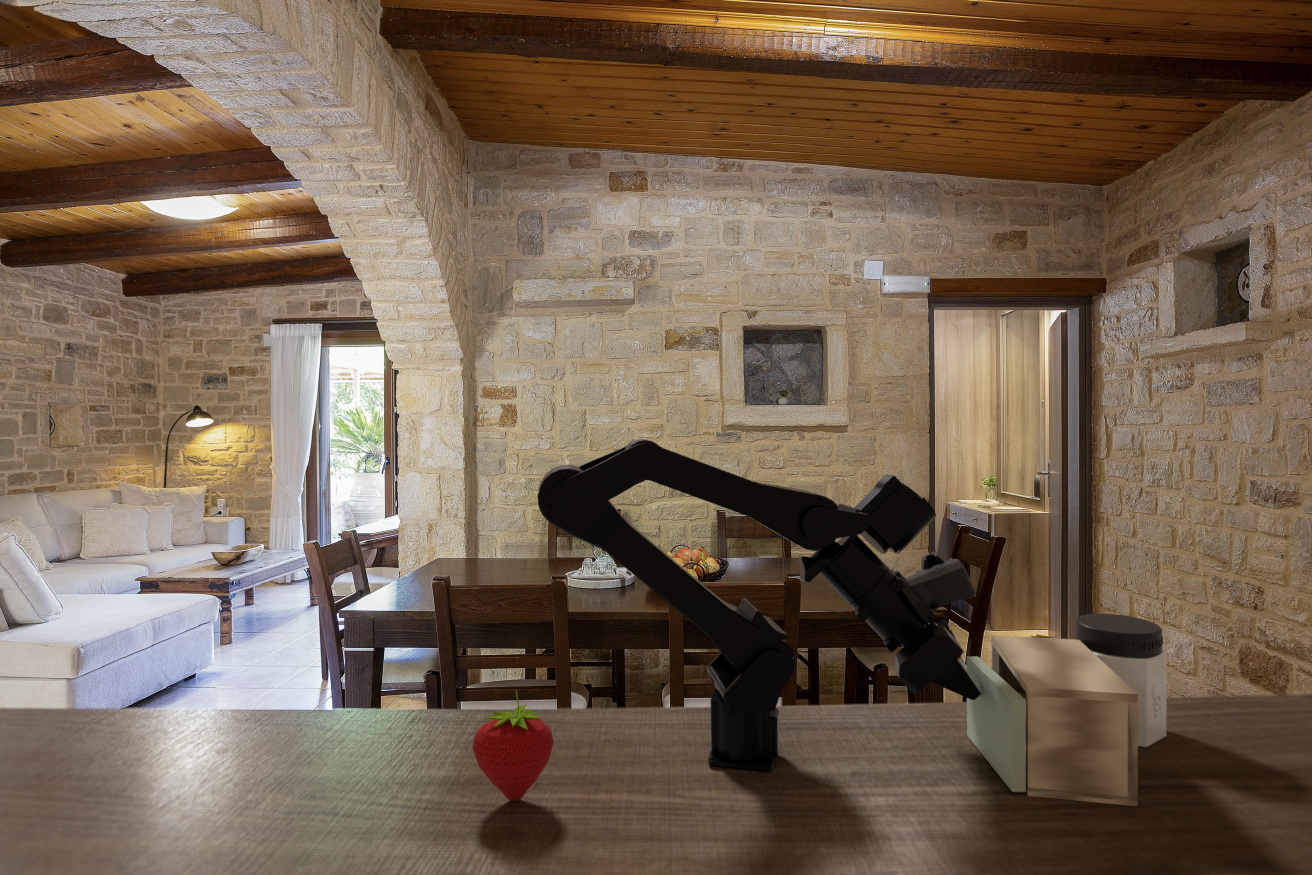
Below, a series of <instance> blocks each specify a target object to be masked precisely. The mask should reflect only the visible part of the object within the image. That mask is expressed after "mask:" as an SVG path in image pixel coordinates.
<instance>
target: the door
mask: <svg viewBox="0 0 1312 875" xmlns="http://www.w3.org/2000/svg"><path fill="white" fill-rule="evenodd" d="M966 672H967V673H968V675H969V676H970V678H971V679H972V681H973V682H974V684H975V685H976V687H977V688H978V690H979V691H980V693H981V695H980V696H979V697H978V698H976V699H975V700H971V699H969V698H966V736H967V737H968V739H969V740H970V741H971V742H972V744H973V745H974V746H975V747H976V749H978V751H979V752H980V753H981V755H982V756H983V757H984V758H985V760H986V761H987V762H988V763H989V765H990V766H991V767H992V768H993V770H994V771H995V772H996V773H997V775H998V776H999V777H1000V778H1001V780H1002V781H1003V782H1004V784H1005V785H1006V786H1007V787H1008V789H1010V791H1011V793H1027V792H1026V711H1025V699H1024V698H1023V697H1022V696H1021V695H1020V694H1019V693H1018V692H1017V691H1015V690H1014V689H1013V688H1012V687H1011V686H1010V685H1009V684H1008V683H1007V682H1006V681H1004V680H1003V679H1002V678H1001V677H1000V676H999V675H998V674H997V673H996V672H995V671H993V670H992V669H991V667H990V666H989V665H988V664H987V663H986V662H985V661H984V660H983V659H982V658H980V657H979V656H966Z"/></svg>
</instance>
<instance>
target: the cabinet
mask: <svg viewBox="0 0 1312 875" xmlns="http://www.w3.org/2000/svg"><path fill="white" fill-rule="evenodd" d="M990 638H991V639H990V649H991V650H990V651H991V652H990V654H991V655H990V666H991V667H990V668H991V669H992V670H993V671H995V672H996V673H997V674H998V675H999V676H1000V677H1001V678H1002V679H1003V680H1004V681H1006V682H1007V683H1008V684H1009V685H1010V686H1011V687H1012V688H1013V689H1014V690H1015V691H1017V692H1018V693H1019V694H1020V695H1021V696H1022V697H1023V698H1024V699H1025V711H1026V792H1025V793H1026V794H1027V796H1028V797H1036V798H1043V799H1044V798H1047V799H1056V800H1057V799H1058V800H1066V801H1067V800H1068V801H1077V802H1078V801H1079V802H1088V803H1098V804H1108V805H1109V804H1111V805H1119V806H1130V807H1132V806H1133V807H1138V802H1139V801H1138V788H1139V787H1138V786H1139V785H1138V784H1139V783H1138V781H1139V780H1138V779H1139V778H1138V777H1139V776H1138V775H1139V773H1138V772H1139V771H1138V769H1139V768H1138V765H1139V762H1138V759H1139V758H1138V756H1139V755H1138V754H1139V751H1138V750H1139V748H1138V747H1139V746H1138V694H1137V693H1136V692H1135V691H1134V690H1133V689H1132V688H1131V687H1130V686H1128V685H1127V684H1126V683H1125V682H1124V681H1123V680H1122V679H1121V678H1120V677H1119V676H1118V675H1117V674H1115V673H1114V672H1113V671H1112V670H1111V669H1110V668H1109V667H1108V666H1107V665H1106V664H1105V663H1104V662H1102V661H1101V660H1100V659H1099V658H1098V657H1097V656H1096V655H1095V654H1094V653H1093V652H1092V651H1091V650H1089V649H1088V648H1087V647H1086V646H1085V645H1084V644H1083V643H1082V642H1081V641H1080V640H1076V638H1075V639H1072V638H1071V639H1069V638H1055V637H1054V638H1050V637H1031V636H1027V637H1026V636H1010V635H991V636H990Z"/></svg>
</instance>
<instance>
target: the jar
mask: <svg viewBox="0 0 1312 875" xmlns="http://www.w3.org/2000/svg"><path fill="white" fill-rule="evenodd" d="M1075 640H1080V641H1081V642H1082V643H1083V644H1084V645H1085V646H1086V647H1087V648H1088V649H1089V650H1091V651H1092V652H1093V653H1094V654H1095V655H1096V656H1097V657H1098V658H1099V659H1100V660H1101V661H1102V662H1104V663H1105V664H1106V665H1107V666H1108V667H1109V668H1110V669H1111V670H1112V671H1113V672H1114V673H1115V674H1117V675H1118V676H1119V677H1120V678H1121V679H1122V680H1123V681H1124V682H1125V683H1126V684H1127V685H1128V686H1130V687H1131V688H1132V689H1133V690H1134V691H1135V692H1136V693H1137V694H1138V747H1139V748H1140V747H1141V748H1148V747H1150V746H1151V745H1153V744H1155V743H1157V742H1158V741H1161V740H1162V739H1164V738H1165V737H1166V736H1167V679H1168V678H1167V670H1168V667H1167V666H1168V665H1167V664H1168V662H1167V659H1168V658H1167V651H1166V650H1163V646H1164V637H1163V628H1162V627H1161V626H1160V625H1158V624H1157V623H1155V622H1152V621H1150V620H1147V619H1143V618H1140V617H1135V616H1129V615H1123V614H1117V613H1116V614H1114V613H1088V614H1087V613H1086V614H1083V615H1080V616H1079V615H1078V617H1076V619H1075Z"/></svg>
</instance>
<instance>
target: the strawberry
mask: <svg viewBox="0 0 1312 875" xmlns="http://www.w3.org/2000/svg"><path fill="white" fill-rule="evenodd" d="M515 696H516V703H517V706H516V707H515V708H514V713H513V711H495V710H493V711H492V714H493V715H490V716H485V717H484V720H489V721H488V722H487V721H486V723H483V725H482V726H481V727H480V728H478V730H477V731H476V732H475V734H474V738H473V743H472V751H473V754H474V757H475V760H476V762H477V765H478V767H479V769H480V770H481V771H482V773H483V774H484V775H485V776H486V777H487V779H488V781H489V782H491V784H493V786H495V787H496V788H497V789H498V790H499V791H500V792H501V793H502V794H503V795H504V797H505V798H506V799H507V800H508V801H511V802H517V801H519V800H521V799H522V798H524V796H525V795H526V794H527V791H529V789H530V788H531V787H532V786H533V784H534V783H536V782H537V780H538V778H539V776H540V775H541V774H542V772H543V771H544V770H545V767H546V766H547V765H548V763H549V761H550V758H551V753H552V751H553V747H554V737H553V734H552V730H551V728H550V726H548V725H547V723H546V722H544V721H543V720H542V717H540V716H536V715H537V714H539V713H540V712H539V711H535V710H528V709H525V708H526V706H527V704H528V703H524V704H522V705H520V702H519V697H518V696H519V695H518V691H517V690H516V691H515Z"/></svg>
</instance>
